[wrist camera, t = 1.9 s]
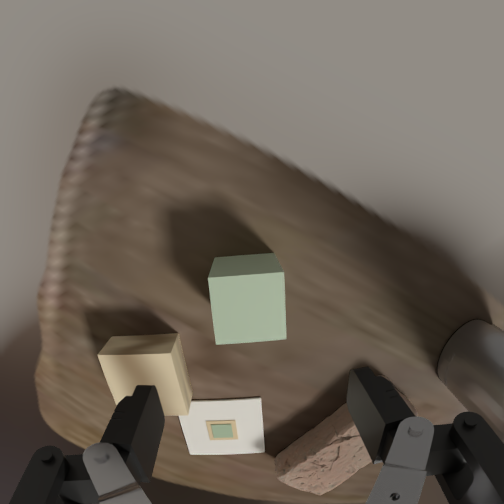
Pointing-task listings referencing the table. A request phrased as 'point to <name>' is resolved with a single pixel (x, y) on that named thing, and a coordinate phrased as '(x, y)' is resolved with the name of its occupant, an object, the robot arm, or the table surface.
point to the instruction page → (224, 427)
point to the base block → (148, 369)
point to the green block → (247, 298)
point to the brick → (325, 454)
